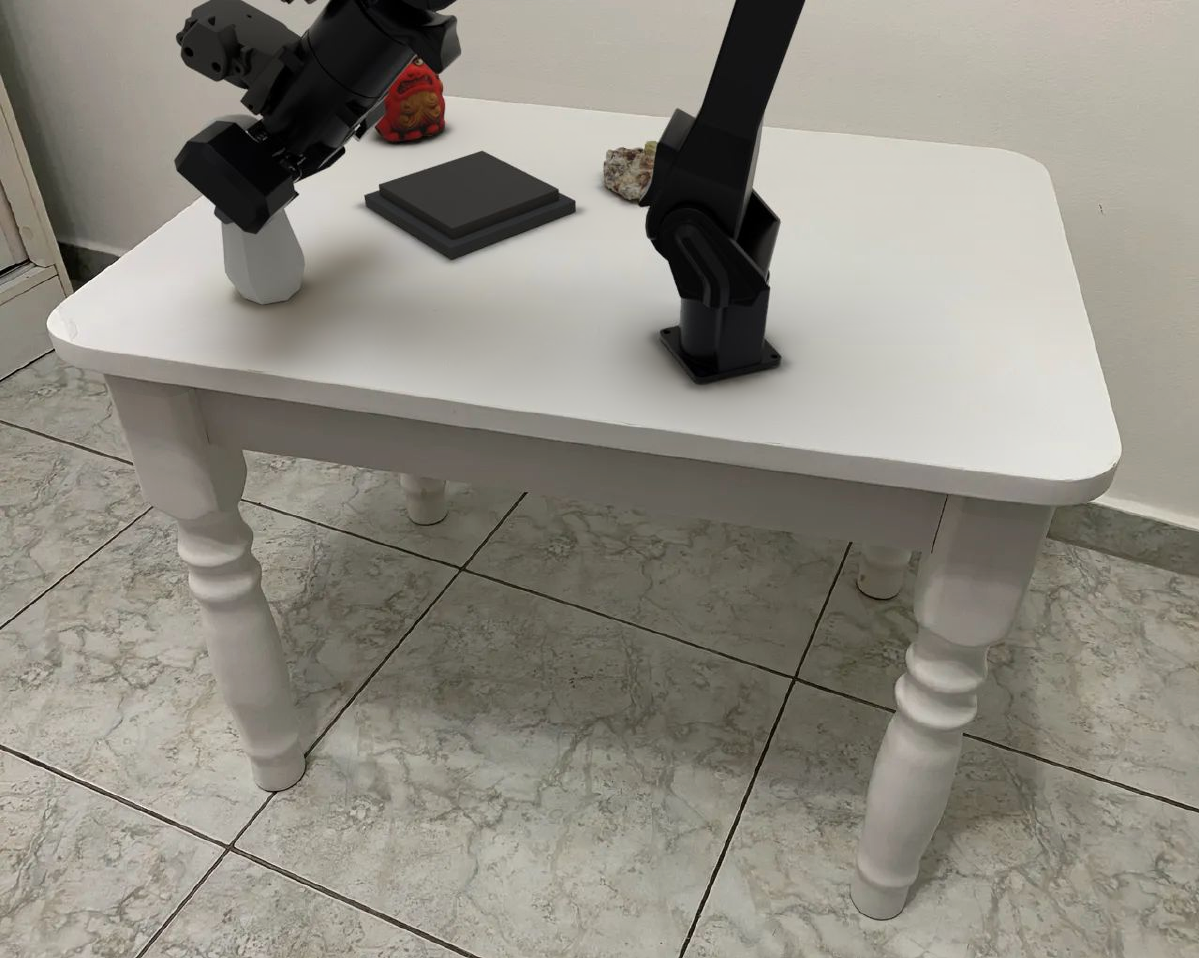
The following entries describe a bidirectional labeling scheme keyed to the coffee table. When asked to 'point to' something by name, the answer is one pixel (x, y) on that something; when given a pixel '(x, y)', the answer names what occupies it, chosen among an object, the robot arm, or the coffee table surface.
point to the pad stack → (468, 203)
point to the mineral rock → (629, 169)
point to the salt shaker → (262, 250)
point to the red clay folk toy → (413, 105)
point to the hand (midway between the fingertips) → (234, 207)
